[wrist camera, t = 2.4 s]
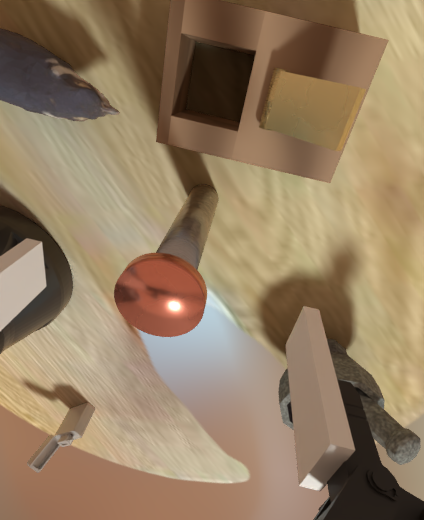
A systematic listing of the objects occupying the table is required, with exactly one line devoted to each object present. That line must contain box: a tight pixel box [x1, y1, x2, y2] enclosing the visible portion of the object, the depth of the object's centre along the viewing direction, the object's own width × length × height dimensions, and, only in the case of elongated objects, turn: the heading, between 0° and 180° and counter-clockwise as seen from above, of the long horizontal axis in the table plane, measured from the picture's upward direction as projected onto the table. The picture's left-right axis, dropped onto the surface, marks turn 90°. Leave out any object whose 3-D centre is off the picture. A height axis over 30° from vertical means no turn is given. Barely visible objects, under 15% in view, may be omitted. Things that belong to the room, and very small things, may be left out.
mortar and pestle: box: [279, 339, 420, 465], centre depth 30 cm, size 11×9×12 cm
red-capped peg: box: [114, 184, 218, 337], centre depth 21 cm, size 4×4×15 cm
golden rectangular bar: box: [259, 67, 366, 151], centre depth 17 cm, size 5×3×1 cm
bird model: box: [0, 29, 120, 121], centre depth 22 cm, size 4×17×5 cm, turn 71°
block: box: [156, 0, 388, 183], centre depth 21 cm, size 12×8×5 cm, turn 79°
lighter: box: [27, 402, 95, 472], centre depth 44 cm, size 7×2×8 cm, turn 122°
